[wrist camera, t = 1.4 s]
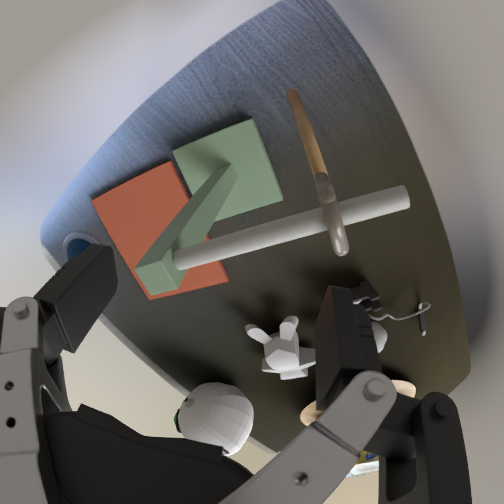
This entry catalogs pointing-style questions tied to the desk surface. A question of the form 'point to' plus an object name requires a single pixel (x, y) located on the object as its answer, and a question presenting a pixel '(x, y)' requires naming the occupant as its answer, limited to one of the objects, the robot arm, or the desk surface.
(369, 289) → the clip-on lamp
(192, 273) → the mat
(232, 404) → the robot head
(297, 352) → the bunny figurine
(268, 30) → the desk surface
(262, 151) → the hook stand
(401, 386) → the stacked boxes on plate
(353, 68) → the desk surface
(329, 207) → the hanger
